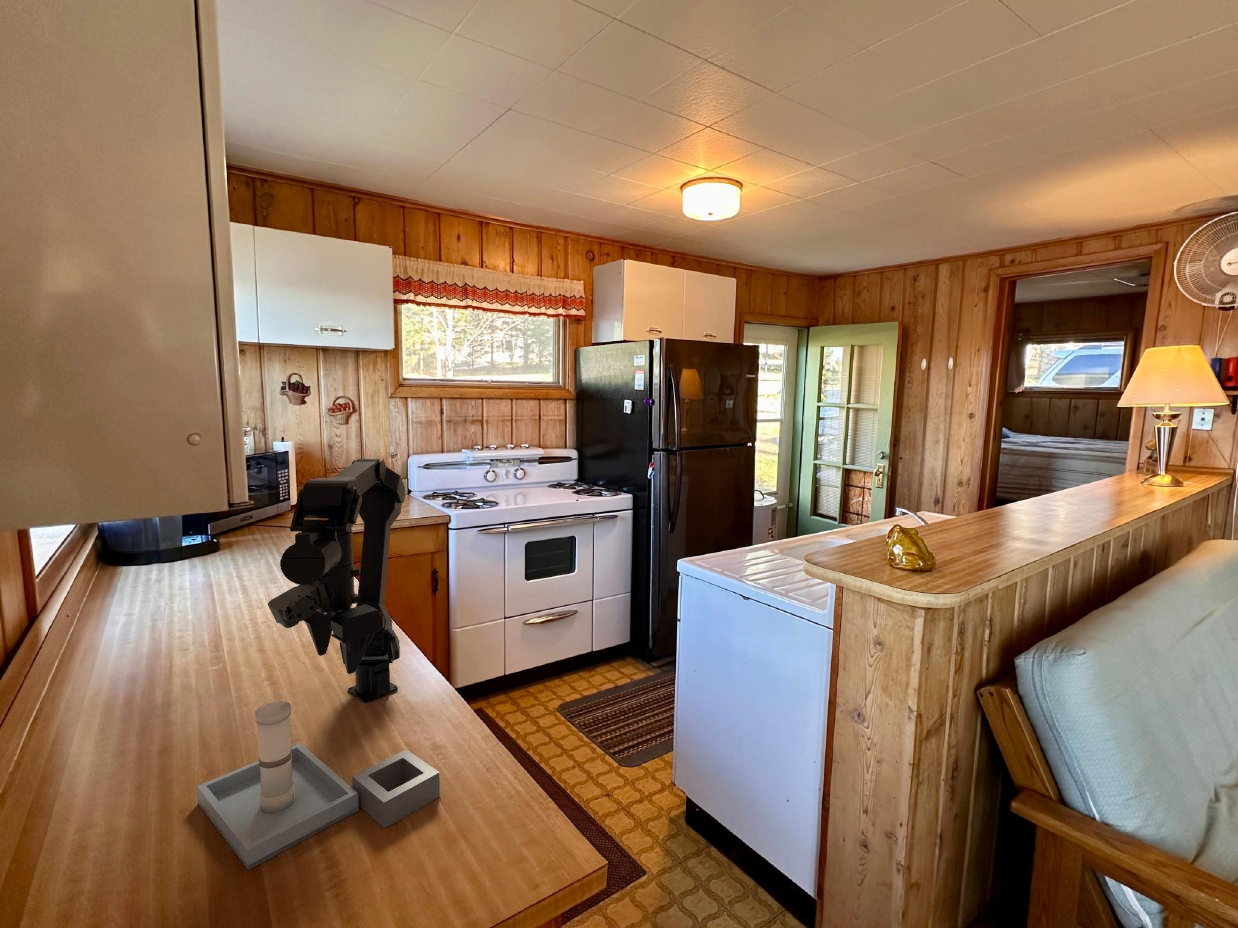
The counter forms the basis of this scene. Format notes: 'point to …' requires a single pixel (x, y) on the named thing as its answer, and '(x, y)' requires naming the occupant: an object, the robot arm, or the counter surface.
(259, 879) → the counter surface
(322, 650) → the robot arm
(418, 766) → the holder
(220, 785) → the parts tray
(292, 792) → the beige banded cylinder
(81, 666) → the counter surface
